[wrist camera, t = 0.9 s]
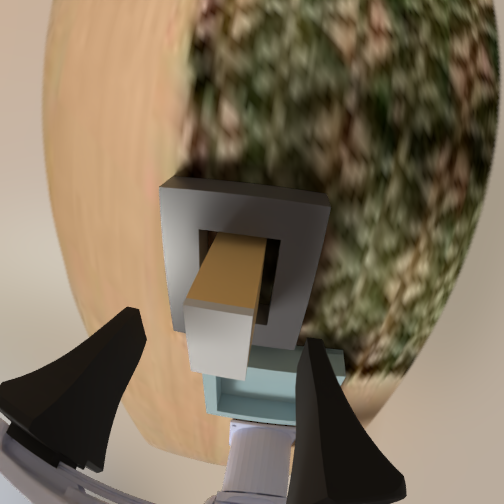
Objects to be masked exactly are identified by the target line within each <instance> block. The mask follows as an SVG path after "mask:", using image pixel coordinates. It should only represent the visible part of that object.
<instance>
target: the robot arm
mask: <svg viewBox="0 0 504 504" xmlns="http://www.w3.org/2000/svg"><path fill="white" fill-rule="evenodd" d="M146 341H147V338H146V335H145V331H144V327H143V323H142V319H141V315H140V311H139V309H136V308H132V307H126V308H125V309H123V310H122V311H121V312H120V313H119V314H117V315H116V316H115V317H114V318H113V319H111V320H110V321H109V322H108V323H107V324H105V325H104V326H103V327H102V328H100V329H99V330H98V331H97V332H95V333H94V334H93V335H92V336H91V337H89V338H88V339H87V340H85V341H84V342H83V343H81V344H80V345H79V346H77V347H76V348H75V349H73V350H72V351H70V352H69V353H67V354H65V355H64V356H62V357H61V358H59V359H57V360H56V361H54V362H52V363H50V364H48V365H46V366H44V367H42V368H40V369H38V370H36V371H34V372H32V373H29V374H26V375H24V376H21V377H18V378H15V379H12V380H8V381H5V382H2V383H1V385H0V412H1V413H3V414H4V416H6V417H7V418H8V419H9V420H10V421H11V424H10V425H8V424H7V423H6V422H5V421H4V420H2V419H1V418H0V473H1V474H2V475H3V476H4V477H5V478H6V479H7V480H8V481H9V482H10V483H11V484H12V485H13V486H14V487H15V488H16V489H17V490H18V491H19V492H20V493H21V494H22V495H23V496H25V498H27V499H28V500H29V501H30V502H31V503H32V504H109V503H107V502H105V501H102V500H100V499H98V498H96V497H93V496H91V495H89V494H86V492H85V490H84V488H86V489H87V490H89V491H92V492H94V493H95V494H98V495H100V496H102V497H104V498H106V499H109V500H111V501H113V502H115V503H118V504H154V503H151V502H148V501H146V500H143V499H140V498H137V497H134V496H132V495H129V494H126V493H124V492H122V491H119V490H117V489H114V488H112V487H109V486H107V485H105V484H103V483H101V482H99V481H97V480H94V479H92V478H90V477H88V476H86V475H84V474H82V473H81V472H79V471H77V470H76V467H79V468H81V469H84V468H85V467H86V468H88V469H90V470H92V471H94V472H96V473H99V472H102V471H103V468H104V461H105V455H106V449H107V444H108V440H109V435H110V431H111V428H112V424H113V420H114V417H115V414H116V411H117V408H118V405H119V402H120V400H121V398H122V395H123V393H124V391H125V389H126V387H127V385H128V383H129V381H130V379H131V377H132V375H133V373H134V371H135V369H136V367H137V365H138V363H139V360H140V358H141V355H142V353H143V350H144V347H145V344H146ZM295 405H296V427H291V426H280V425H270V424H261V423H254V422H246V421H240V420H231V422H230V439H229V445H230V446H231V447H230V452H229V457H228V462H227V467H226V472H225V477H224V482H223V487H222V492H220V491H218V492H217V496H216V495H213V496H211V497H210V498H208V499H207V500H206V501H205V503H204V504H391V503H393V502H397V501H399V500H402V499H404V498H405V497H406V496H407V495H406V484H405V480H404V476H403V475H402V474H401V473H400V472H399V471H398V470H397V469H396V468H395V467H394V466H393V465H392V464H391V463H390V461H389V460H388V459H387V458H386V457H385V456H384V455H383V454H382V452H381V451H380V450H379V449H378V447H377V446H376V445H375V444H374V442H373V441H372V439H371V438H370V437H369V435H368V434H367V433H366V431H365V430H364V428H363V427H362V425H361V424H360V422H359V420H358V419H357V417H356V415H355V414H354V412H353V410H352V408H351V407H350V405H349V403H348V401H347V399H346V397H345V395H344V393H343V391H342V389H341V387H340V384H339V382H338V380H337V377H336V375H335V373H334V370H333V368H332V365H331V363H330V360H329V357H328V355H327V352H326V349H325V346H324V342H323V340H322V339H315V338H307V339H306V342H305V345H304V348H303V351H302V354H301V357H300V359H299V362H298V365H297V373H296V384H295ZM295 439H296V441H295V450H294V458H293V466H292V473H291V479H290V485H289V491H288V496H287V487H288V477H289V466H290V454H291V445H292V443H293V442H294V440H295ZM83 487H84V488H83ZM286 496H287V498H286Z"/></svg>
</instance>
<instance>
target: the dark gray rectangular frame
mask: <svg viewBox="0 0 504 504" xmlns="http://www.w3.org/2000/svg"><path fill="white" fill-rule="evenodd" d="M159 197H160V214H161V228H162V240H163V251H164V261H165V270H166V279H167V287H168V295H169V302H170V309H171V316H172V323H173V329H174V331H178V332H183V333H186V330H185V321H184V312H183V303H184V301H185V299H186V296H187V294H188V292H189V290H190V288H191V286H192V284H193V282H194V280H195V278H196V276H197V274H198V271H199V269H200V267H201V265H202V263H203V261H204V259H205V257H206V255H207V253H208V230H209V231H217V232H225V233H233V234H240V235H248V236H255V237H263V238H270V239H278V240H280V243H279V250H278V256H277V263H276V269H275V275H274V282H273V288H272V294H271V300H270V306H269V305H262V304H258V310H257V316H256V321H255V327H254V333H253V339H252V345H257V346H264V347H271V348H279V349H287V350H294V349H295V346H296V343H297V340H298V336H299V333H300V329H301V326H302V322H303V319H304V315H305V312H306V308H307V305H308V301H309V297H310V294H311V290H312V286H313V282H314V278H315V274H316V270H317V266H318V262H319V258H320V254H321V250H322V246H323V241H324V237H325V233H326V228H327V224H328V219H329V215H330V210H331V206H330V203H329V200H328V197H327V194H325V193H318V192H312V191H305V190H299V189H292V188H284V187H277V186H269V185H261V184H253V183H244V182H235V181H225V180H214V179H203V178H190V177H176V176H173V177H171V178H170V179H169V180H167V181H166V182H165V183H164V184H162V185H161V186H160V187H159Z"/></svg>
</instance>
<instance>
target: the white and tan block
mask: <svg viewBox="0 0 504 504" xmlns="http://www.w3.org/2000/svg"><path fill="white" fill-rule="evenodd" d="M266 244H267V238H263V237H255V236H248V235H240V234H233V233H225V232H218V233H217V235H216V237H215V239H214V241H213V243H212V245H211V247H210V249H209V251H208V253H207V255H206V257H205V259H204V261H203V263H202V265H201V267H200V269H199V271H198V274H197V276H196V278H195V280H194V282H193V284H192V286H191V288H190V290H189V292H188V294H187V296H186V299H185V301H184V303H183V312H184V321H185V330H186V338H187V346H188V353H189V361H190V367H191V371H194V372H198V373H203V374H208V375H213V376H219V377H224V378H230V379H236V380H242V381H245V378H246V373H247V367H248V361H249V356H250V350H251V345H252V339H253V333H254V327H255V321H256V316H257V310H258V304H259V298H260V291H261V283H262V276H263V268H264V260H265V252H266Z"/></svg>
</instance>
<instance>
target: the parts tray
mask: <svg viewBox="0 0 504 504" xmlns="http://www.w3.org/2000/svg"><path fill="white" fill-rule="evenodd" d="M303 348H304V346H295V349H294V350H287V349H279V348H271V347H264V346H257V345H251V350H250V356H249V361H248V367H247V373H246V378H245V381H242V380H236V379H230V378H224V377H219V376H213V375H208V374H203V373H202V375H203V385H204V394H205V403H206V412H207V413H208V414H213V415H218V416H224V417H230V418H236V419H242V420H249V421H256V422H264V423H273V424H283V425H295V426H296V405H295V384H296V373H297V365H298V362H299V359H300V357H301V354H302V351H303ZM325 349H326V348H325ZM326 352H327V355H328V357H329V360H330V363H331V365H332V368H333V370H334V373H335V375H336V377H337V380H338V382H339V384H340V386H341V384H342V382H343V381H344V379H345V377H346V373H345V363H344V355H343V350H339V349H326Z"/></svg>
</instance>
